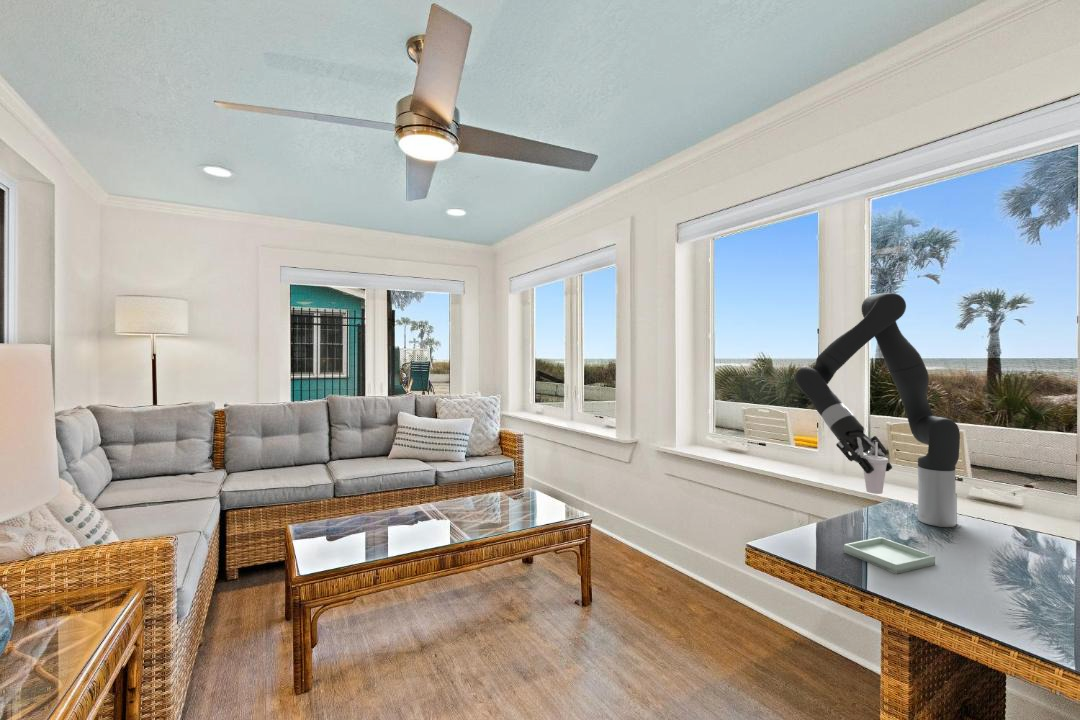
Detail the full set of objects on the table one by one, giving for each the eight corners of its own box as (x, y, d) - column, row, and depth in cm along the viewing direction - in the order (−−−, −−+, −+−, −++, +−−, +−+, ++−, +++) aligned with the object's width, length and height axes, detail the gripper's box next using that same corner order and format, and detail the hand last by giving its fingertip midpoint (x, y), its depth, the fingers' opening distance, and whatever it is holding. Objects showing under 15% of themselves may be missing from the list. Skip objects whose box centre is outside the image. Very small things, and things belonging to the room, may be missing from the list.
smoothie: (893, 495, 134) (893, 444, 134) (869, 495, 135) (869, 444, 134) (878, 488, 141) (878, 439, 140) (855, 488, 141) (855, 440, 141)
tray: (880, 544, 138) (880, 536, 138) (935, 564, 125) (935, 556, 125) (844, 552, 133) (843, 544, 133) (896, 573, 120) (896, 564, 120)
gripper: (831, 415, 142) (870, 465, 131) (868, 413, 147) (908, 461, 136) (815, 431, 147) (852, 480, 136) (851, 428, 152) (889, 475, 141)
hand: (880, 470), depth 136 cm, fingers closed on smoothie, 6 cm apart
